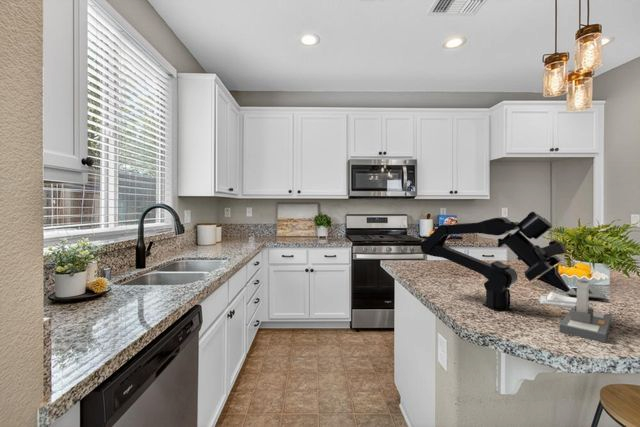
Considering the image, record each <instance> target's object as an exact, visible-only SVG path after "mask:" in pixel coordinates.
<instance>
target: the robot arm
mask: <svg viewBox="0 0 640 427" xmlns="http://www.w3.org/2000/svg"><path fill="white" fill-rule="evenodd" d="M552 228H554V227H553V224H552V223H550V221H548V219H546V218H545V217H542V216H541V215H539V214H538V213H537V212H535V211H530V212H529V213H528V214H527V216H526V217H525V218H523V219H522V220H521V221H511V220H509V219H508V218H507V217H503V216H502V217H501V216H500V217H494V218H493V217H492V218H489V219H486V220H482V221H478V222H470V223H469V222H467V223H455V224H454V223H453V224H447V223H446V224H440V225H438V226H437V228H436V229H435V230H434V231H433V232H432V233H431V234H429V236H427V238H426V239H424V240H423V241H422V242H421V243H420V250H421V252H422V253H423V254H424V255H426V256H431V257H437V258H443V259H445V260H448V261H449V262H453V263H455V264H457V265H459V266H462V267H464V268H467V269H469V270H471V271H473V272H475V273H478V274H480V275H482V276H483V277H484V278H486V279H487V281H485V282H484V283H483V285H484V288H485V290H486V291H485V303H484V302H483V303H482V306H484V307H486V308H488V309H491V310H494V311H497V312H501V311H513V310H514V307H511V293H510V291H511V290H510V287H511V286H512V284H515V283H516V282H517V280H518V273H517V271H516V270H515V269H514V268H512V267H511V264H505V263H503V262H501V261H499V260H496V261H493V262H491V263H489V262H486V261H483V260H481V259H479V258H476V257H474V256H472V255H468V254H467V253H463V252H462V251H459V250H456V249H454V248H451V247H450V246H448V245H447V244H446V242H447V239H448V238H449V236H450V235H464V234H483V235H489V236H497V237H498V236H503V235H505V236H504V237H503V238H502V237H500V238H497V247H498V248H503V246H505V245H506V247H508V249H510V251H512V253H513V254H515V256H517V257H516V260H518V261H521V262H523V263H524V264H525V265H526V267H528V268H527V269H526V270H525V271H524V277H525V278H526V279H527V280H528V281H529V282H532V281H533V280H534V279H535V278H536V280H537V281H540V282H542V283H544V284H548V285H550V286H552V287H554V288H557V289H558V290H560V291H562V292H564V293H566V292H568V291H569V290H570V289H569V287H568V284H567V283H566V281H565V279H563V277H562V275H561V274H560V272H559V270H560V269H559V267H560V264H559V263H560V262H561V261H562V260H561V259H560V258H559V257H558V256H557V255H563V254H565V253H568V251H567V249H566V246H565V243H563V242H562V241H557V240H550V241H549V242H548V245H546V246H543V247H540V245H538V244H535V245H534V243H533V242H532V241H530V240H532V239H534V240H537V239H539V238H541V236H543V235H544V234H545V233H546V232H548V231H549V230H551V229H552ZM511 231H515V232H513V233H511ZM506 234H507V235H506ZM538 276H539V277H538Z"/></svg>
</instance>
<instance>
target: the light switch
mask: <svg viewBox="0 0 640 427" xmlns="http://www.w3.org/2000/svg"><path fill="white" fill-rule="evenodd" d="M539 300H540V303H539V304H541V305H548V306H554V307H561V308H565V307H567V308H566V309H572V308H575V305H577V297H573V296H566V295H565V296H564V295H562V294H559V293H556V292H553V291H551V292H550V293H549V294H548V295H541V296H540V299H539Z"/></svg>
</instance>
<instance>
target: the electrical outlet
mask: <svg viewBox="0 0 640 427" xmlns="http://www.w3.org/2000/svg"><path fill="white" fill-rule="evenodd" d="M569 289H570V288H569ZM565 293H566V296H567V297H573V298H577V288H571V289H570V290H569V291H568V292H565ZM592 299H593V300H599V301H604V300H605V299H606V297H605V296H604V295H603V294H602V293H601V292H600V291H599V290H598V289H597V288H589V298H588V300H592Z"/></svg>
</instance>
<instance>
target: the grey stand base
mask: <svg viewBox="0 0 640 427" xmlns="http://www.w3.org/2000/svg"><path fill="white" fill-rule="evenodd" d="M576 306H577V305H575V308H570V310H569V312H568V313H567V314H566V315H565V317H564V318H563V320H561V322H560V324H559V333H562V334H566V335H571V336H575V337H579V338H584V339H587V340H592V341H596V342H599V343H605V344H606V342H607V339H608V336H609V332H610V329H611V326H612V322H613V315H612V314H607V313H601V312H597V311H594V308H592V307H588V312H587V313H582V312H576Z"/></svg>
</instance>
